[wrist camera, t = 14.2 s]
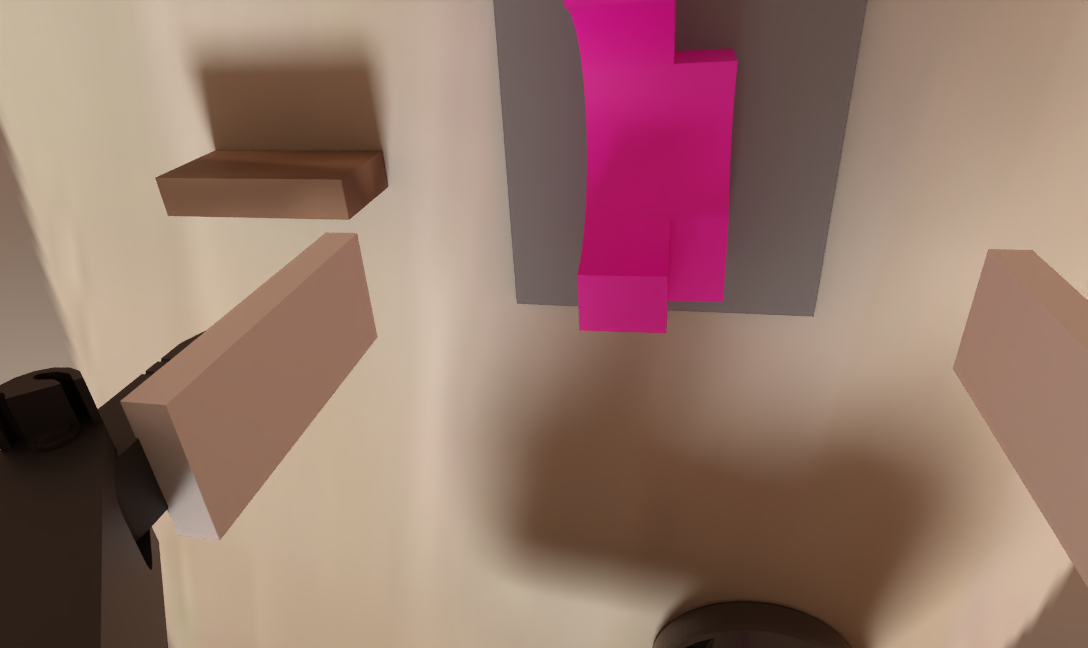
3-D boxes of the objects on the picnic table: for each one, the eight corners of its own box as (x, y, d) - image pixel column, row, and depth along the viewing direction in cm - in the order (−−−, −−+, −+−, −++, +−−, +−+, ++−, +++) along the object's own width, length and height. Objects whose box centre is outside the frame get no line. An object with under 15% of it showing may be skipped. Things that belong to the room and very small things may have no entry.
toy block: (718, 261, 35) (726, 334, 29) (598, 260, 36) (579, 330, 30) (740, -74, 28) (756, -77, 21) (588, -62, 29) (560, -61, 22)
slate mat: (811, 309, 36) (813, 316, 35) (519, 297, 39) (516, 303, 38) (897, -207, 25) (902, -211, 25) (485, -171, 28) (480, -173, 28)
